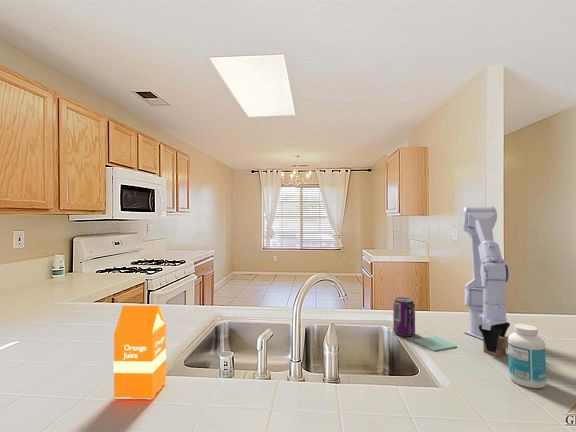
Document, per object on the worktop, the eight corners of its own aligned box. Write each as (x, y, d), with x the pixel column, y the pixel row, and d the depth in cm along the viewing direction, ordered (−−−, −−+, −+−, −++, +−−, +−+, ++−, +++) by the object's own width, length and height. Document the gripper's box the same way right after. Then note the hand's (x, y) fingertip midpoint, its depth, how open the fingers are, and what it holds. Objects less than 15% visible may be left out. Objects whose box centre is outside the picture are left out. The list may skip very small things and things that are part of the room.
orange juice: (130, 382, 81) (130, 301, 82) (166, 383, 81) (166, 301, 81) (113, 400, 74) (113, 310, 74) (152, 400, 73) (152, 310, 73)
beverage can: (416, 338, 111) (416, 302, 111) (394, 336, 112) (394, 301, 112) (413, 331, 118) (413, 297, 118) (392, 329, 119) (392, 296, 119)
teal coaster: (435, 337, 111) (435, 336, 111) (457, 347, 103) (457, 346, 103) (413, 340, 108) (413, 339, 108) (433, 351, 100) (433, 349, 100)
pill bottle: (539, 377, 83) (538, 323, 83) (551, 392, 76) (551, 333, 76) (504, 373, 86) (504, 320, 86) (513, 386, 79) (513, 330, 79)
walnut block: (493, 350, 100) (493, 333, 100) (506, 355, 97) (505, 338, 97) (483, 351, 99) (483, 335, 99) (496, 357, 95) (495, 339, 95)
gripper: (487, 296, 106) (488, 338, 106) (470, 304, 96) (470, 351, 96) (513, 300, 100) (514, 345, 100) (498, 309, 91) (498, 358, 91)
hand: (494, 348), depth 98 cm, fingers closed on walnut block, 5 cm apart
